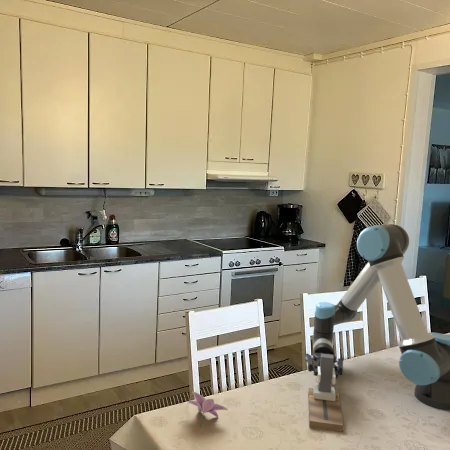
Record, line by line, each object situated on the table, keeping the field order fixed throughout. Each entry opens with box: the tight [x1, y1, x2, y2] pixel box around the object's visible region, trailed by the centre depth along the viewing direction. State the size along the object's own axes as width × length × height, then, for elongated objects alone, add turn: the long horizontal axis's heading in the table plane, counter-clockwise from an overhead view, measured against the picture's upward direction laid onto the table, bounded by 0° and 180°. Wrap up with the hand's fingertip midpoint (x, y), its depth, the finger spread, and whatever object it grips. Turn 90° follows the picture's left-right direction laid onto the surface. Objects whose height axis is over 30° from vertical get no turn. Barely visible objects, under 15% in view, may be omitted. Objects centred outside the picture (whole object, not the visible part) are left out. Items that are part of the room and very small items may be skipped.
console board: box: [307, 387, 344, 432], centre depth 151 cm, size 22×10×2 cm, turn 171°
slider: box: [313, 354, 336, 401], centre depth 156 cm, size 6×7×14 cm
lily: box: [186, 390, 229, 428], centre depth 141 cm, size 12×12×10 cm
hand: (326, 379), depth 151 cm, fingers closed on slider, 4 cm apart
